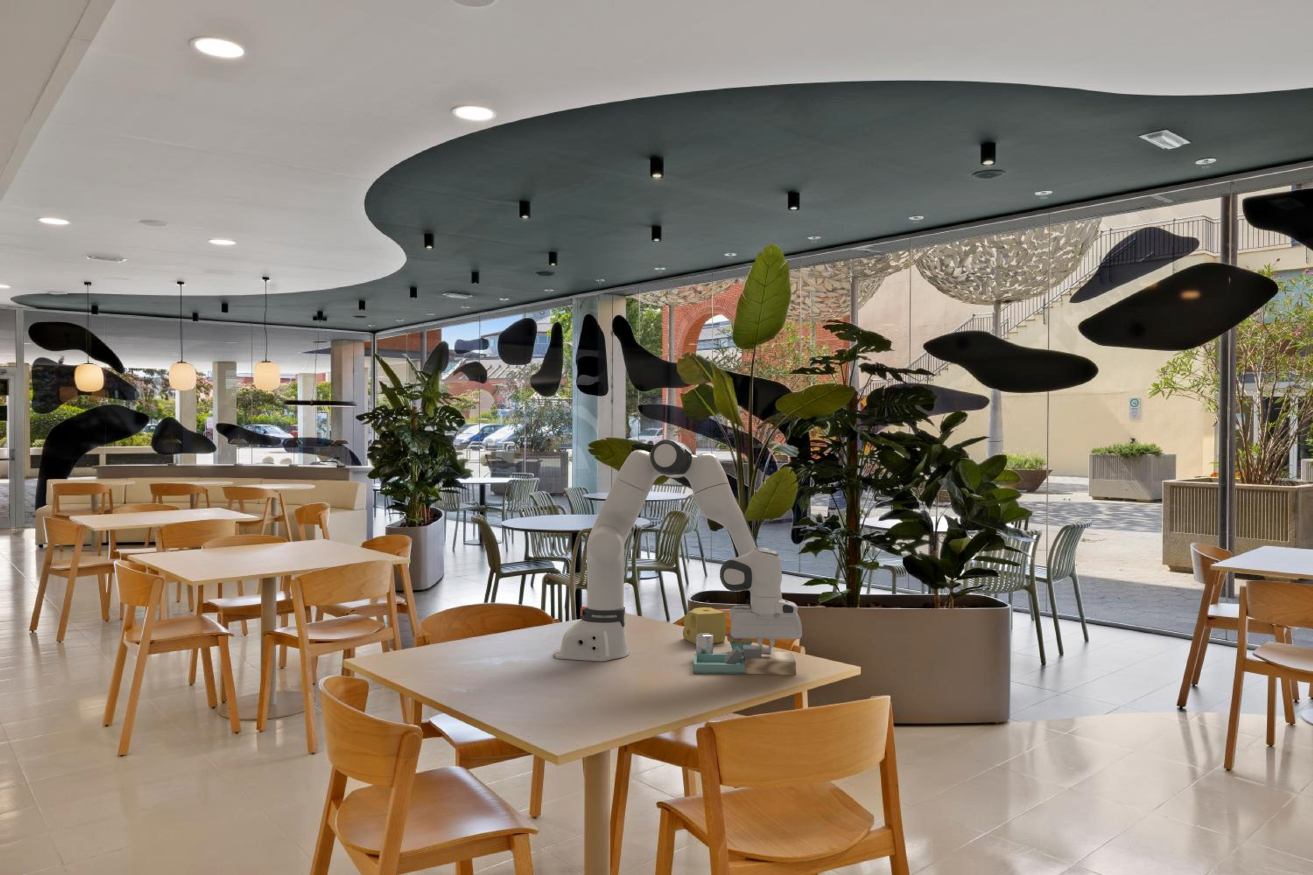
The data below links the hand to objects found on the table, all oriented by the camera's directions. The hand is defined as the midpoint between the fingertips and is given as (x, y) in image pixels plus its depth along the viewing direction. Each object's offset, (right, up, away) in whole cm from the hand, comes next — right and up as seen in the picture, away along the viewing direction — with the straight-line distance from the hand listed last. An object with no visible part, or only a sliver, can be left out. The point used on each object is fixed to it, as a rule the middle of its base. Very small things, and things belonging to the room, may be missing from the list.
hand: (766, 653), depth 257 cm
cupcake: (-5, -4, +20) cm, 21 cm away
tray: (-13, -4, +1) cm, 14 cm away
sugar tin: (-17, -4, +12) cm, 21 cm away
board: (+1, -4, 0) cm, 4 cm away
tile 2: (-4, -1, 0) cm, 4 cm away
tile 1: (-8, -2, 0) cm, 8 cm away
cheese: (-16, -5, +36) cm, 39 cm away
